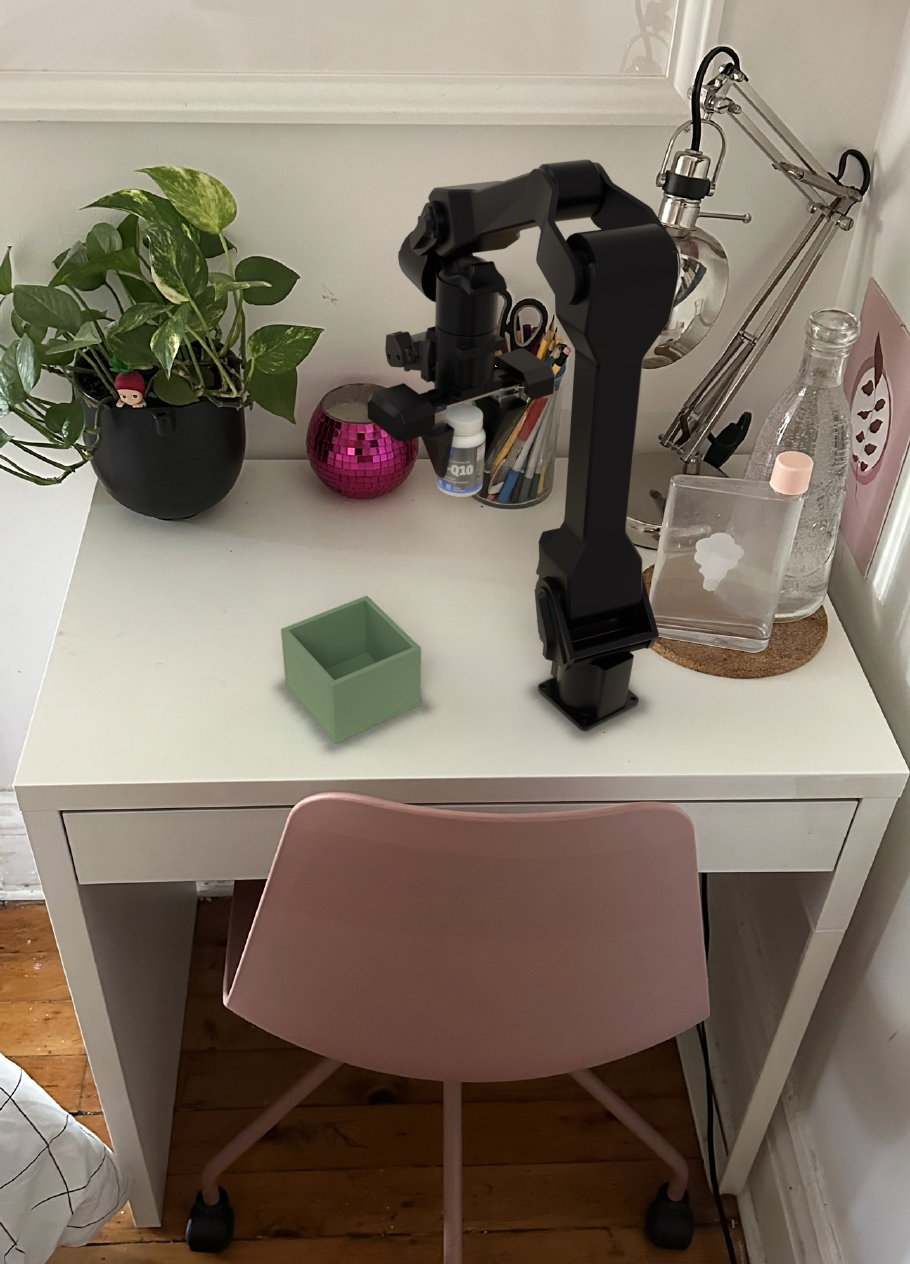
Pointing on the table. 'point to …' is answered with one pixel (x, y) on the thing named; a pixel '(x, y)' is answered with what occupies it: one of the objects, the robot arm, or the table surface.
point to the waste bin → (351, 667)
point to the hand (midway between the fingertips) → (460, 468)
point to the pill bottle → (464, 452)
